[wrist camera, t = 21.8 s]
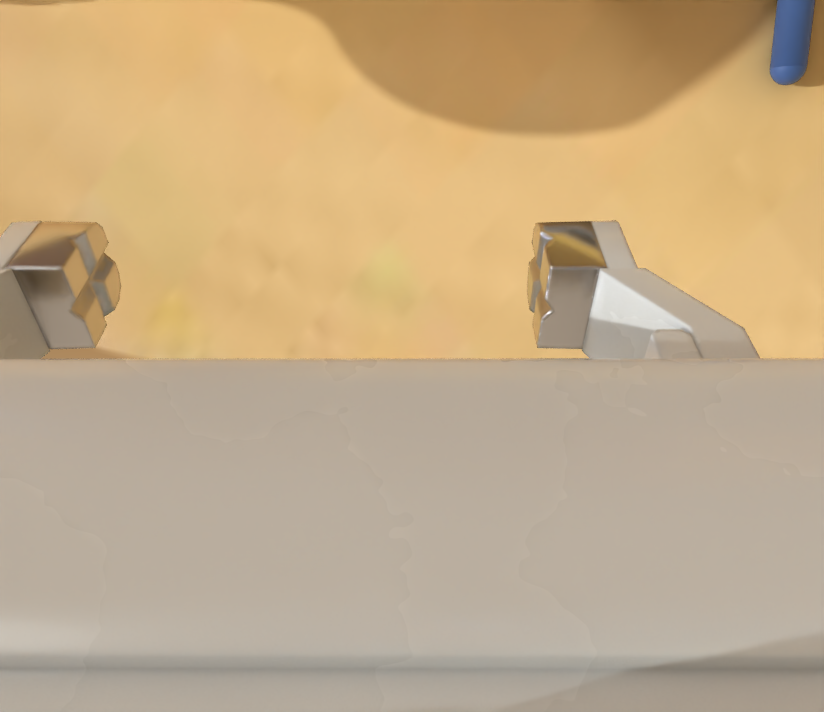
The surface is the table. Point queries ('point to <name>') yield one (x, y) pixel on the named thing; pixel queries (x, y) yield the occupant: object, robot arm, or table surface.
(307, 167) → the table surface
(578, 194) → the table surface
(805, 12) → the spoon
